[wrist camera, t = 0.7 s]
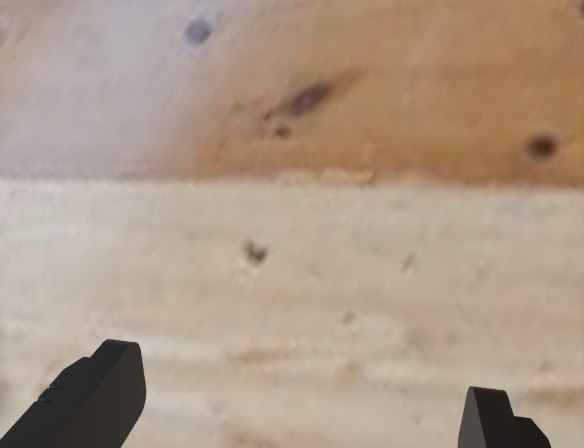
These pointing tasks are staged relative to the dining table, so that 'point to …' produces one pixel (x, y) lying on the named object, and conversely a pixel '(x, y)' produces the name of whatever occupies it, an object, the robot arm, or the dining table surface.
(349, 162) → the dining table surface
